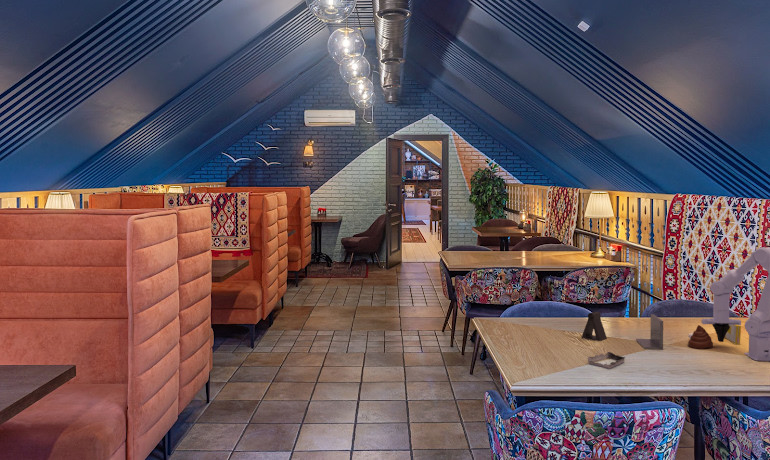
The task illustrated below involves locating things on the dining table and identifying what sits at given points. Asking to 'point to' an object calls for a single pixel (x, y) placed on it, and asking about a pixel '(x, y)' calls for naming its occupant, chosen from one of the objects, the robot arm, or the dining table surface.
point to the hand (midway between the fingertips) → (720, 341)
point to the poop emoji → (700, 339)
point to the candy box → (734, 334)
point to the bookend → (654, 335)
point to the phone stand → (594, 327)
